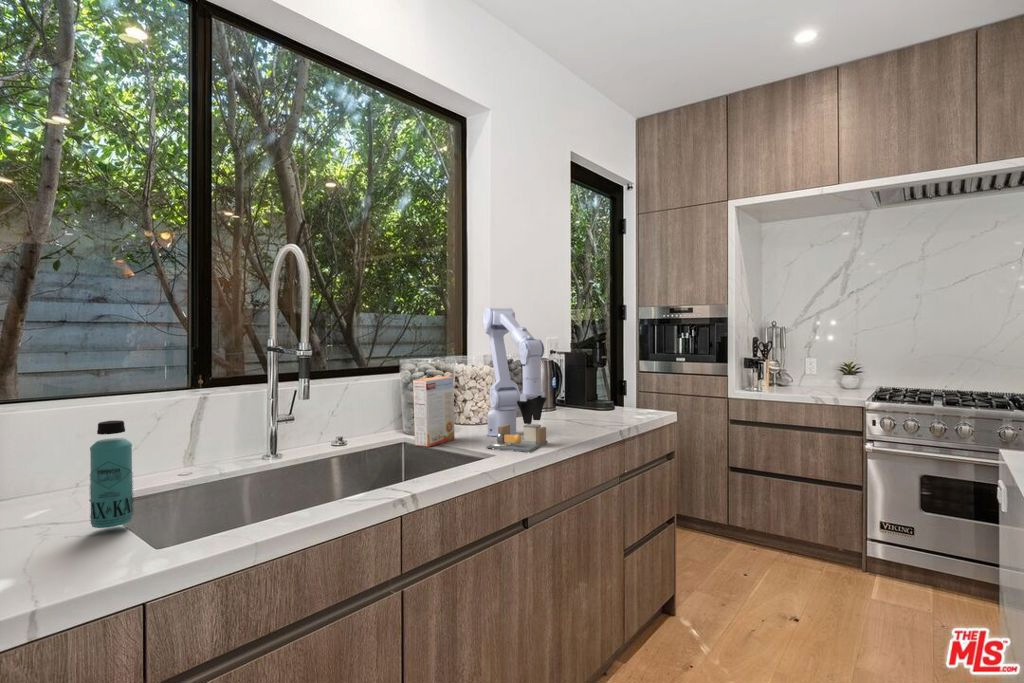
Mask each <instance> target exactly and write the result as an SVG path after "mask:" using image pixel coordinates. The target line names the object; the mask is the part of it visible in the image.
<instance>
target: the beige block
mask: <svg viewBox="0 0 1024 683" xmlns="http://www.w3.org/2000/svg"><path fill="white" fill-rule="evenodd" d="M541 426H542V425H541V424H538V423H537V424H536V423H531V424H524V425H523V436H524V440H532V441H536V430H537V429H539V428H541Z"/></svg>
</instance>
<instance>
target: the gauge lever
mask: <svg viewBox="0 0 1024 683" xmlns="http://www.w3.org/2000/svg"><path fill="white" fill-rule="evenodd" d="M521 436H522V435H521V434H517V435H515V436H514V435H507V434H506V435H504V442H512V443H517V444H519V443H521Z"/></svg>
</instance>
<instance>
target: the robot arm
mask: <svg viewBox="0 0 1024 683" xmlns="http://www.w3.org/2000/svg"><path fill="white" fill-rule="evenodd" d="M482 321H483V328H484V333H485V334H487V335H488V339H489V345H490V346H489V347H490V351H491V358H492V365H493V371H494V377H495V382H494V383H493V384H491V386H490V388H489V403H490V406H491V409H489V410H488V413H487V434H486V436H487V435H489V436H490V437H497V433H498V427H500V426H503V425H505V424H509V425H510V435H517V434H519V435H521V432H520V431H517V410H518V409H519V410H520V413H521V416H522V421H523V423H524V425H526V424H532V421H541V417H542V414H543V408H544V406H545V404H546V402H547V397H546V396H545V394H546V393H545V392H544V390H543V389H542V377H541V375H542V373H541V372H542V369H541V368H542V365H541V364H542V360H541V359H542V358H543V356H544V355H545V345H544V342H543V341H542V339H538V338H537V339H536V338H534V337H533V335H532V334H531V333H530V332H529V331H528V329H527V327H526V326H521V325H520V323H518V321H517V319H516V312H515V311H514V309H513V308H512V307H506V308H505V307H504V308H502V307H501V308H500V307H498V308H497V307H486V308H485V310H484V311H483V317H482ZM508 333H510V334H511V335H510V337H511V340H512V342H513V343H514V344H515V345H516V347H517V348H518V354H519V358H520V364H522V392H520V389H519V385H518V384H517V383H516V382H515V381H513V380H512V379H511V375H510V368H509V363H508V362H509V361H508V357H507V351H506V350H507V349H506V344H505V338H504V336H505V335H506V334H508ZM544 396H545V397H544ZM489 436H488V437H489Z"/></svg>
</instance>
